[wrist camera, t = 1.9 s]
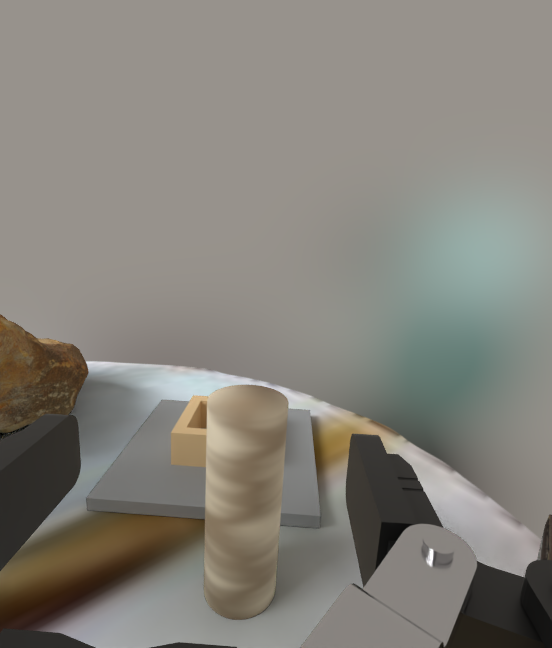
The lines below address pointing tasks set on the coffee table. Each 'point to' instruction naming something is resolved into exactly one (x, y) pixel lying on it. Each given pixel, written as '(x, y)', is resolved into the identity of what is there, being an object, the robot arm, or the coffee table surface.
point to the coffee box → (546, 542)
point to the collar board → (198, 468)
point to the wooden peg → (243, 498)
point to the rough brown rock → (36, 376)
